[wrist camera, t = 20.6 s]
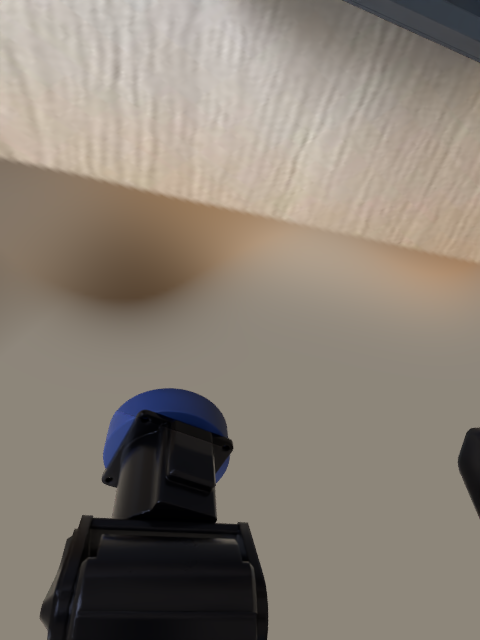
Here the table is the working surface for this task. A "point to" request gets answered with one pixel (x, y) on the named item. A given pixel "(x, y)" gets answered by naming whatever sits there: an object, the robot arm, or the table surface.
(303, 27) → the table surface
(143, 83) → the table surface
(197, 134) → the table surface
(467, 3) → the tray
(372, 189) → the table surface
